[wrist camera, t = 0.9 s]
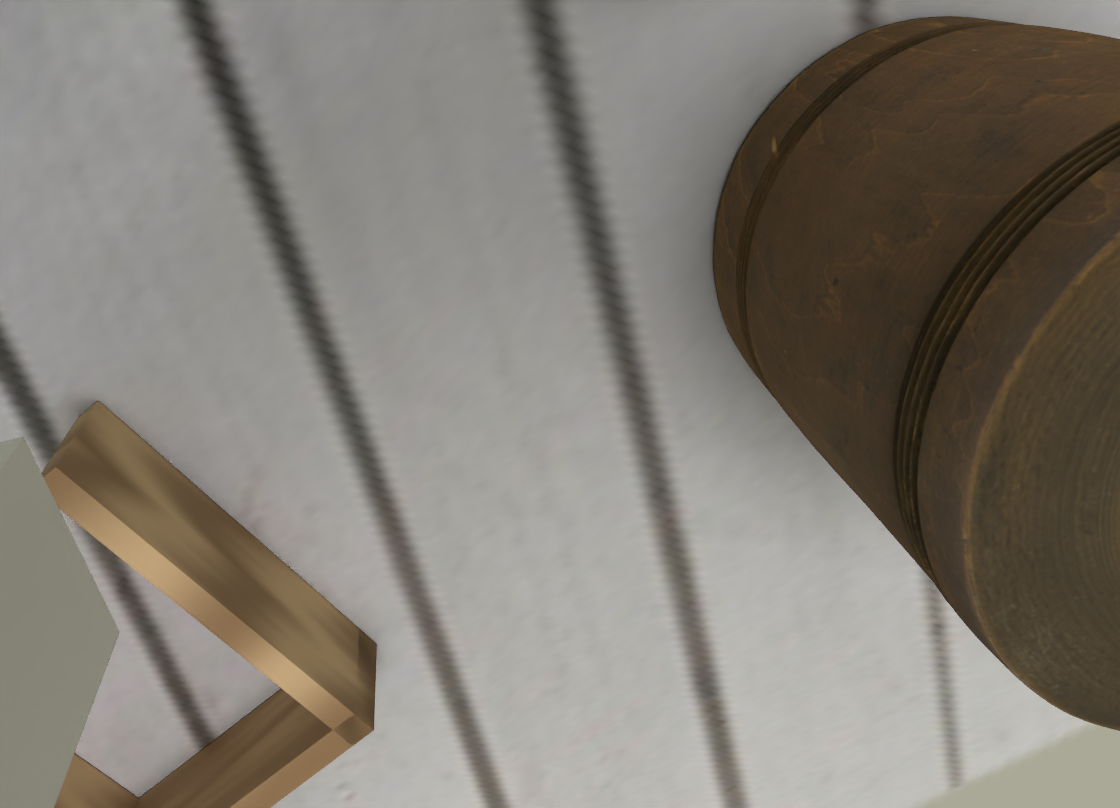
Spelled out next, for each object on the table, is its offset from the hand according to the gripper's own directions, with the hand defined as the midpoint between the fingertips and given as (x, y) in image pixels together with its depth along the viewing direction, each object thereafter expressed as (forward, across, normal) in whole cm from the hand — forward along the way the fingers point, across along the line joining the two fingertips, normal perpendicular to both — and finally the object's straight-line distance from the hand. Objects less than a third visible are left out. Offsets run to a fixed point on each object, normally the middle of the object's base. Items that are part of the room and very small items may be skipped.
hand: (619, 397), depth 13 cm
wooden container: (+24, +14, -8) cm, 29 cm away
